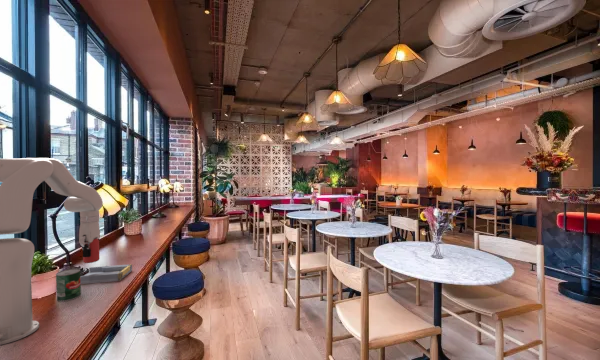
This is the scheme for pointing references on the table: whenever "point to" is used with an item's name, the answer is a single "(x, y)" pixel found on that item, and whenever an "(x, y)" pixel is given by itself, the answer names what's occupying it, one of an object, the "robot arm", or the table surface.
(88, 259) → the beer can
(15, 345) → the table surface
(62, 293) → the canned tomato
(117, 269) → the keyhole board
